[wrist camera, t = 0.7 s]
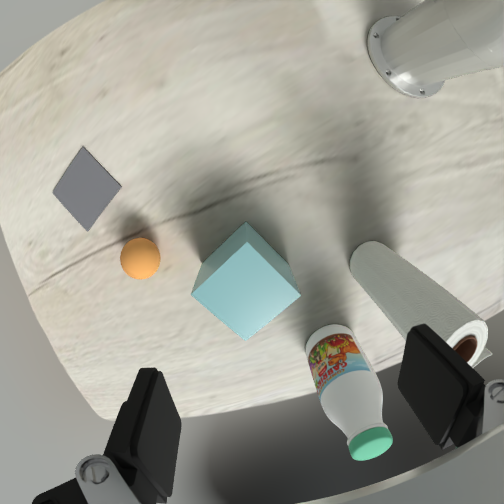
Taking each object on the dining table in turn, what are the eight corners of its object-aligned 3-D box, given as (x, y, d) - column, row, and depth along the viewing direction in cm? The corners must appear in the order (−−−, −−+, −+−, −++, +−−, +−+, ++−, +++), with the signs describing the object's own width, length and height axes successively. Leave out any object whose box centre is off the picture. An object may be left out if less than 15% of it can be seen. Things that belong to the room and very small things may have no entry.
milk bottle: (361, 326, 41) (420, 425, 22) (341, 366, 43) (382, 466, 24) (315, 318, 40) (361, 428, 21) (297, 359, 42) (324, 470, 23)
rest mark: (83, 147, 31) (82, 146, 31) (121, 186, 33) (121, 187, 33) (53, 192, 33) (52, 192, 33) (88, 231, 35) (87, 231, 35)
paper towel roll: (340, 258, 37) (425, 359, 17) (375, 230, 36) (484, 305, 16) (365, 295, 39) (444, 399, 19) (398, 269, 38) (493, 355, 18)
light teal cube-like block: (246, 221, 35) (247, 241, 27) (288, 264, 37) (301, 295, 29) (202, 263, 37) (190, 294, 28) (244, 302, 39) (245, 340, 30)
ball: (144, 225, 35) (130, 235, 30) (172, 252, 36) (162, 266, 31) (121, 251, 36) (106, 265, 31) (148, 277, 37) (137, 294, 32)
